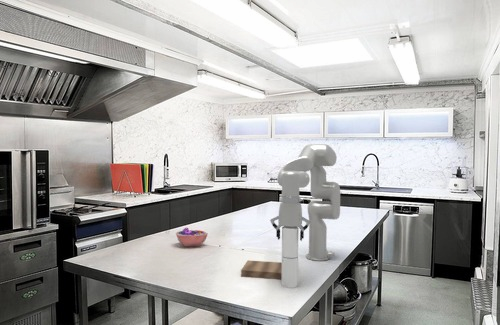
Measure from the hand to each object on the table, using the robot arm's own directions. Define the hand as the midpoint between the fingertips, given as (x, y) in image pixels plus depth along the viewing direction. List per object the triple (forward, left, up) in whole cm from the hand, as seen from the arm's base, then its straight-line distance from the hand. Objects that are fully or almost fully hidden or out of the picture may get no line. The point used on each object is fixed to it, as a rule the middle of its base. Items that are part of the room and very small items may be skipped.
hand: (289, 239), depth 155 cm
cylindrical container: (0, 0, -20) cm, 20 cm away
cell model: (+65, -55, -20) cm, 88 cm away
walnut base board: (+12, -14, -20) cm, 27 cm away
